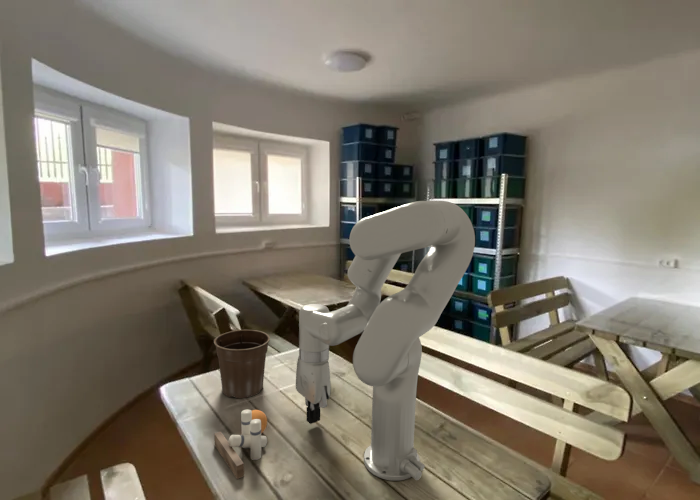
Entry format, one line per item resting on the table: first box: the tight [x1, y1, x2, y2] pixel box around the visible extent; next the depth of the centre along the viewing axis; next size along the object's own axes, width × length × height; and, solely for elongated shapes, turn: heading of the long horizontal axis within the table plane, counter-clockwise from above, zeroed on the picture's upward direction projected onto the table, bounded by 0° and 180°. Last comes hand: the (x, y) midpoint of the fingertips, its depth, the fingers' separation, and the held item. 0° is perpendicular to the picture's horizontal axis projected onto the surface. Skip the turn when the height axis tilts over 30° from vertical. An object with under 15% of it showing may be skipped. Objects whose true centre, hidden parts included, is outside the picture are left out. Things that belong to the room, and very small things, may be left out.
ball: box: [251, 409, 268, 434], centre depth 99 cm, size 6×6×6 cm
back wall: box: [213, 430, 245, 480], centre depth 89 cm, size 14×2×3 cm, turn 37°
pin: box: [240, 408, 252, 450], centre depth 94 cm, size 2×2×8 cm
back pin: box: [249, 419, 262, 461], centre depth 90 cm, size 2×2×8 cm
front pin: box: [228, 434, 268, 448], centre depth 92 cm, size 2×2×8 cm
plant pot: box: [213, 329, 271, 399], centre depth 120 cm, size 16×16×16 cm
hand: (313, 420), depth 103 cm, fingers closed
